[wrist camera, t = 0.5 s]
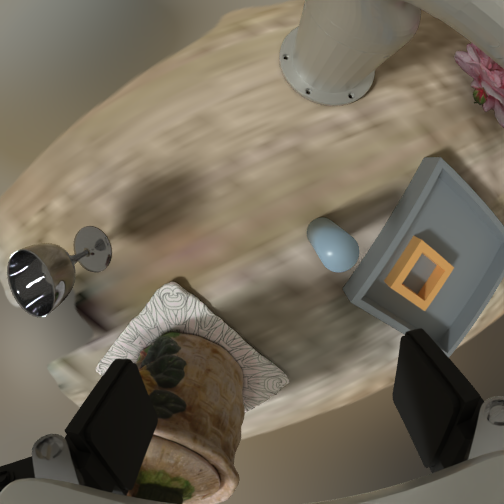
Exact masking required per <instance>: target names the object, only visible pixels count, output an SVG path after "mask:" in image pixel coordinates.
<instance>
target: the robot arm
mask: <svg viewBox="0 0 504 504" xmlns="http://www.w3.org/2000/svg"><path fill="white" fill-rule="evenodd" d="M421 9H422V10H423V11H425V12H427V13H428V14H430V15H432V16H433V17H435V18H438V19H440V20H441V21H443V22H444V23H446V24H447V25H448V26H450V27H451V28H453V29H454V30H456V31H457V32H458V33H460V34H461V35H462V36H464V37H465V38H466V39H468V40H469V41H470V42H472V43H473V44H474V45H475V46H477V47H478V48H479V49H480V50H482V51H483V52H484V53H485V54H486V55H488V56H489V57H490V58H491V59H492V60H493V61H495V62H496V63H497V64H498V65H500V66H501V67H502V68H503V69H504V0H305V4H304V8H303V12H302V16H301V20H300V24H299V26H298V27H296V28H295V29H294V30H292V31H291V32H290V33H289V34H288V35H287V36H286V38H285V39H284V41H283V43H282V46H281V49H280V56H279V59H280V67H281V70H282V73H283V75H284V77H285V79H286V81H287V82H288V83H289V85H290V86H291V87H292V88H293V89H294V90H295V91H296V92H297V93H298V94H300V95H301V96H303V97H304V98H306V99H308V100H310V101H312V102H314V103H317V104H321V105H326V106H343V105H346V104H350V103H352V102H354V101H356V100H358V99H359V98H361V97H362V96H363V95H364V94H365V93H366V92H367V91H368V90H369V88H370V87H371V85H372V83H373V80H374V76H375V69H376V68H377V67H379V66H380V65H381V64H382V63H383V62H385V61H386V60H387V59H388V58H389V57H390V56H392V55H393V54H394V53H395V52H397V51H398V50H399V49H400V48H401V47H403V46H404V45H405V44H406V43H407V42H408V41H409V40H410V39H411V38H412V37H413V36H414V35H415V33H416V31H417V29H418V27H419V23H420V18H421ZM284 58H287V60H285V59H284ZM307 91H308V92H309V93H310V94H306V92H307ZM348 96H351V99H350V98H349V97H348ZM393 401H394V404H395V406H396V408H397V410H398V412H399V413H400V416H401V418H402V420H403V422H404V424H405V426H406V428H407V430H408V432H409V434H410V436H411V439H412V440H413V443H414V445H415V447H416V449H417V451H418V453H419V456H420V458H421V460H422V462H423V464H424V466H425V467H426V468H428V467H429V468H430V470H431V472H432V474H429V475H426V476H423V477H420V478H417V479H415V480H411V481H408V482H405V483H401V484H398V485H395V486H392V487H388V488H384V489H381V490H377V491H373V492H368V493H364V494H360V495H355V496H351V497H345V498H340V499H334V500H329V501H322V502H315V503H307V504H504V397H502V396H495V397H491V398H489V399H487V400H486V401H485V402H484V401H483V399H482V398H481V396H480V395H479V393H478V392H477V391H476V390H475V388H474V387H473V386H472V385H471V383H470V382H469V381H468V380H467V379H466V378H465V376H464V375H463V374H462V373H461V372H460V370H459V369H458V368H457V367H456V366H455V365H454V363H453V362H452V361H451V360H450V359H449V358H448V356H447V355H446V354H445V353H444V352H443V351H442V350H441V348H440V347H439V346H438V345H437V344H436V343H435V342H434V341H433V340H432V338H431V337H430V336H429V335H428V334H427V333H426V332H425V331H424V330H423V329H422V328H419V329H414V330H410V331H407V332H406V333H405V336H402V337H401V341H400V349H399V357H398V364H397V371H396V377H395V383H394V389H393ZM157 423H158V416H157V413H156V411H155V409H154V407H153V404H152V402H151V400H150V397H149V395H148V392H147V390H146V387H145V385H144V382H143V380H142V377H141V375H140V372H139V369H138V367H137V365H136V364H135V363H133V362H132V361H131V360H130V359H115V360H114V361H113V362H112V364H111V365H110V366H109V368H108V369H107V370H106V372H105V373H104V375H103V376H102V377H101V379H100V380H99V382H98V383H97V384H96V386H95V387H94V389H93V390H92V391H91V393H90V394H89V396H88V397H87V399H86V400H85V401H84V403H83V404H82V406H81V407H80V409H79V410H78V412H77V413H76V414H75V416H74V417H73V419H72V420H71V422H70V423H69V425H68V426H67V428H66V429H65V432H66V434H67V435H66V437H65V438H64V437H63V436H61V435H58V434H48V435H45V436H43V437H41V438H40V439H38V440H37V441H36V442H35V443H34V445H33V448H32V457H28V458H26V459H23V460H19V461H16V462H13V463H10V464H7V465H4V466H1V467H0V504H173V503H165V502H158V501H151V500H145V499H140V498H135V497H130V496H127V493H128V491H129V490H132V489H133V487H134V484H135V481H136V479H137V476H138V473H139V471H140V468H141V465H142V463H143V460H144V458H145V455H146V452H147V450H148V447H149V444H150V442H151V439H152V437H153V434H154V432H155V429H156V426H157Z"/></svg>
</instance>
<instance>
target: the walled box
mask: <svg viewBox="0 0 504 504" xmlns="http://www.w3.org/2000/svg"><path fill="white" fill-rule="evenodd" d="M413 236H415V237H417V238H419V239H421V240H423V241H424V242H425V243H426V244H428V245H429V246H430V247H431V248H432V249H433V250H435V251H436V252H437V253H438V254H439V255H440V256H442V257H443V258H444V259H445V260H446V261H447V262H448V263H450V264H451V265H452V266H453V267H454V269H453V270H452V272H451V274H450V275H449V277H448V278H447V280H446V281H445V283H444V284H443V286H442V287H441V289H440V290H439V292H438V293H437V295H436V296H435V298H434V299H433V301H432V302H431V304H430V305H429V306H428V308H427V309H426V311H424V310H422V309H421V308H419V307H418V306H416V305H415V304H414V303H412V302H411V301H409V300H408V299H406V298H405V297H403V296H402V295H400V294H399V293H397V292H396V291H395V290H393V289H392V288H390V287H389V286H388V285H387V284H386V283H385V282H384V280H385V279H386V277H387V276H388V274H389V273H390V271H391V270H392V268H393V267H394V265H395V264H396V262H397V261H398V259H399V258H400V256H401V255H402V253H403V251H404V250H405V248H406V247H407V245H408V244H409V242H410V240H411V239H412V237H413ZM436 266H437V265H436V264H435V263H433V262H432V261H431V260H430V259H429V258H427V257H426V256H425V255H424V254H421V256H420V257H419V259H418V260H417V262H416V263H415V265H414V266H413V268H412V269H411V271H410V273H409V274H408V275H407V277H406V278H405V280H404V281H403V283H402V284H404V285H405V286H406V287H408V288H409V289H411V290H412V291H413V292H415V293H416V294H418V293H419V291H420V290H421V289H422V287H423V286H424V284H425V283H426V281H427V280H428V278H429V277H430V275H431V273H432V272H433V270H434V269H435V267H436ZM503 277H504V226H503V224H502V223H501V222H500V221H499V219H498V218H497V217H496V216H495V214H494V213H493V212H492V211H491V210H490V209H489V207H488V206H487V205H486V204H485V203H484V202H483V200H482V199H481V198H480V197H479V196H478V195H477V194H476V193H475V192H474V190H473V189H472V188H471V187H470V186H469V185H468V184H467V183H466V182H465V181H464V180H463V179H462V178H461V177H460V176H459V175H458V174H457V173H456V172H455V171H454V170H453V169H452V168H451V167H450V166H449V165H448V164H447V163H446V162H445V161H444V160H443V159H442V158H441V157H425V158H424V159H423V160H422V162H421V164H420V166H419V168H418V170H417V171H416V173H415V175H414V177H413V179H412V180H411V182H410V184H409V186H408V187H407V189H406V191H405V193H404V194H403V196H402V198H401V199H400V201H399V203H398V204H397V206H396V208H395V209H394V211H393V213H392V214H391V216H390V218H389V219H388V221H387V223H386V224H385V226H384V227H383V229H382V231H381V232H380V234H379V235H378V237H377V238H376V240H375V242H374V243H373V245H372V246H371V248H370V249H369V251H368V252H367V254H366V255H365V257H364V258H363V260H362V261H361V263H360V264H359V266H358V267H357V269H356V270H355V272H354V273H353V275H352V276H351V277H350V279H349V280H348V282H347V283H346V285H345V286H344V287H343V291H344V292H345V294H346V296H347V297H348V299H349V300H350V302H351V303H353V304H354V305H356V306H358V307H359V308H361V309H363V310H364V311H366V312H368V313H369V314H371V315H373V316H374V317H376V318H378V319H379V320H381V321H383V322H385V323H386V324H388V325H390V326H391V327H393V328H395V329H396V330H398V331H400V332H401V333H403V334H405V333H406V332H407V331H410V330H414V329H419V328H422V329H423V330H424V331H425V332H426V333H427V334H428V335H429V336H430V337H431V338H432V340H433V341H434V342H435V343H436V344H437V345H438V346H439V347H440V348H441V350H442V351H443V352H444V353H445V354H446V355H447V356H448V358H449V356H450V355H451V354H452V353H453V351H454V350H455V349H456V348H457V346H458V345H459V344H460V342H461V341H462V340H463V338H464V337H465V336H466V334H467V333H468V332H469V330H470V329H471V327H472V326H473V325H474V323H475V322H476V320H477V319H478V317H479V316H480V314H481V313H482V311H483V310H484V308H485V307H486V305H487V304H488V302H489V300H490V299H491V297H492V296H493V294H494V292H495V291H496V289H497V287H498V286H499V284H500V282H501V280H502V279H503Z"/></svg>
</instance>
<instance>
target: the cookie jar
mask: <svg viewBox="0 0 504 504" xmlns="http://www.w3.org/2000/svg"><path fill="white" fill-rule="evenodd" d="M115 359H130V360H131V361H132V362H133V363H135V364H136V365H137V367H138V369H139V372H140V375H141V377H142V380H143V382H144V385H145V387H146V390H147V392H148V395H149V397H150V400H151V402H152V404H153V407H154V409H155V411H156V413H157V416H158V423H157V426H156V429H155V432H154V434H153V437H152V439H151V442H150V444H149V447H148V450H147V452H146V455H145V458H144V460H143V463H142V465H141V468H140V471H139V473H138V476H137V479H136V481H135V484H134V487H133V489H132V490H129V491H128V493H127V496H130V497H135V498H140V499H145V500H151V501H158V502H165V503H173V504H218V503H220V502H223V501H225V500H227V499H229V498H230V497H231V495H232V494H233V493H234V491H235V489H236V487H237V486H238V483H239V474H238V472H237V471H236V469H235V467H234V457H235V452H236V450H237V447H238V445H239V443H240V440H241V426H242V423H243V420H244V414H245V413H246V412H247V411H249V410H251V409H253V408H255V407H256V406H258V405H260V404H261V403H262V402H264V401H266V400H268V399H269V398H270V396H271V395H276V394H277V393H278V391H279V390H281V388H282V387H285V385H286V384H288V383H289V379H288V377H287V375H286V374H285V373H284V372H283V371H282V370H281V369H279V368H278V367H277V366H276V365H275V364H274V363H272V362H271V361H269V360H268V359H266V358H265V357H263V356H262V355H261V354H259V353H258V352H257V351H256V350H255V349H254V348H253V347H252V346H250V345H249V344H248V343H247V342H245V341H244V340H243V339H242V338H241V336H239V335H238V333H237V332H236V331H234V330H233V329H232V328H231V327H229V326H228V325H227V324H226V323H225V322H224V321H223V320H222V319H221V318H220V317H218V316H216V315H214V314H213V313H212V312H211V311H210V310H209V309H208V307H207V306H206V305H205V304H204V303H202V302H201V301H200V300H199V299H198V298H197V297H195V296H194V295H193V294H191V293H189V292H188V291H186V290H185V289H184V288H182V287H181V286H180V285H179V284H177V283H176V282H170V283H168V284H165V285H163V286H162V287H161V288H160V289H158V290H157V291H156V292H155V294H154V295H153V297H152V298H151V300H150V301H149V302H148V303H147V304H146V306H145V308H144V309H143V310H142V311H141V312H140V314H139V315H138V316H136V317H135V318H133V319H132V320H131V322H130V323H129V324H128V326H127V328H126V329H125V330H124V332H122V334H121V335H120V336H119V338H118V339H117V340H116V342H115V343H114V344H113V345H112V346H111V348H110V349H109V351H108V352H107V353H106V355H105V356H104V357H103V358H102V359H101V360H100V362H99V363H98V366H97V367H96V371H97V372H98V373H99V374H100V375H101V376H103V375H104V373H105V372H106V370H107V369H108V368H109V366H110V365H111V364H112V362H113V361H114V360H115Z"/></svg>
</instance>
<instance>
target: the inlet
mask: <svg viewBox="0 0 504 504" xmlns="http://www.w3.org/2000/svg"><path fill="white" fill-rule="evenodd" d="M421 254H424V255H425V256H426V257H427V258H429V259H430V260H431V261H432V262H433V263H435V264H436V265H437V266H436V267H435V269H434V270H433V272H432V273H431V275H430V277H429V278H428V280H427V281H426V283H425V284H424V286H423V287H422V289H421V290H420V291H419V293H418V294H416V293H415V292H413V291H412V290H411V289H409V288H408V287H406V286H405V285H404V284H402V283H403V281H404V280H405V278H406V277H407V275H408V274H409V273H410V271H411V269H412V268H413V266H414V265H415V263H416V262H417V260H418V259H419V257H420V256H421ZM453 269H454V267H453V266H452V265H451V264H450V263H448V262H447V261H446V260H445V259H444V258H443V257H442V256H440V255H439V254H438V253H437V252H436V251H435V250H433V249H432V248H431V247H430V246H429V245H428V244H426V243H425V242H424V241H423V240H421V239H419V238H417V237H415V236H413V237H412V239H411V240H410V242H409V244H408V245H407V247H406V248H405V250H404V251H403V253H402V255H401V256H400V258H399V259H398V261H397V262H396V264H395V265H394V267H393V268H392V270H391V271H390V273H389V274H388V276H387V277H386V279H385V280H384V282H385V283H386V284H387V285H388V286H389V287H390V288H392V289H393V290H395V291H396V292H397V293H399V294H400V295H402V296H403V297H405V298H406V299H408V300H409V301H411V302H412V303H414V304H415V305H416V306H418V307H419V308H421V309H422V310H424V311H426V309H427V308H428V306H429V305H430V304H431V302H432V301H433V299H434V298H435V296H436V295H437V293H438V292H439V290H440V289H441V287H442V286H443V284H444V283H445V281H446V280H447V278H448V277H449V275H450V274H451V272H452V270H453Z"/></svg>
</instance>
